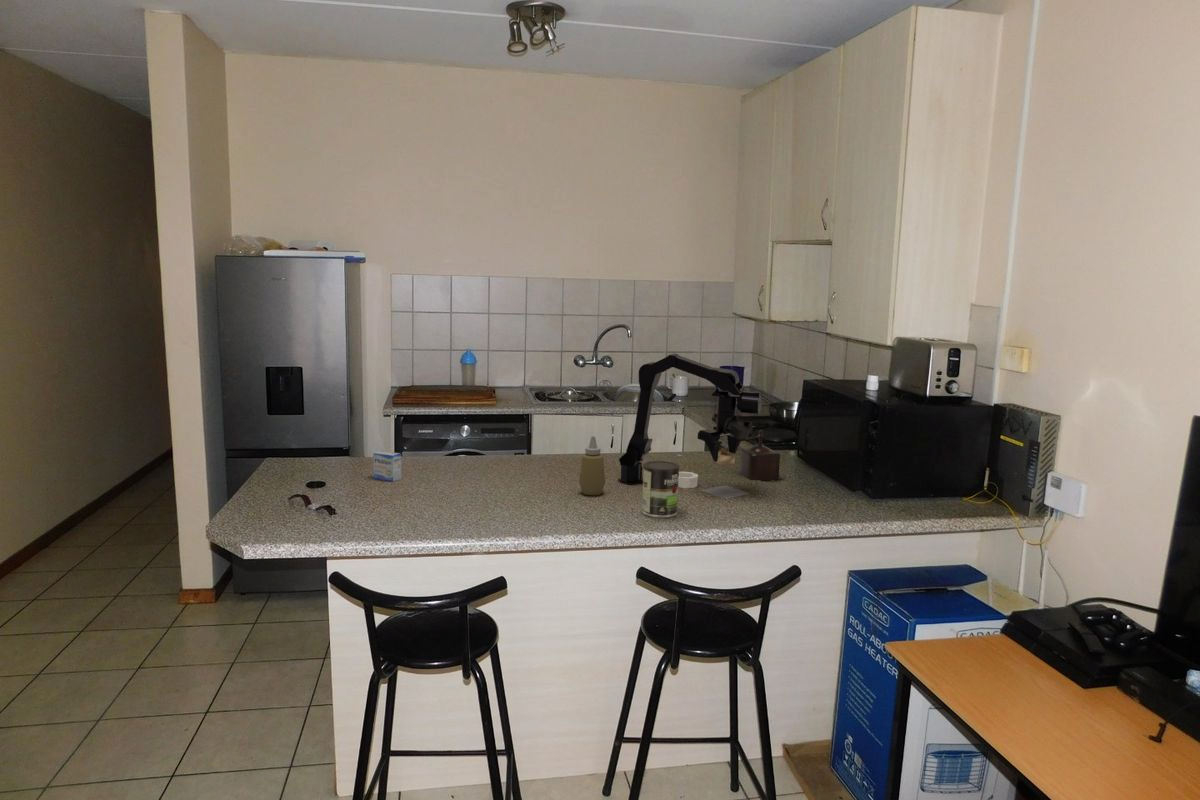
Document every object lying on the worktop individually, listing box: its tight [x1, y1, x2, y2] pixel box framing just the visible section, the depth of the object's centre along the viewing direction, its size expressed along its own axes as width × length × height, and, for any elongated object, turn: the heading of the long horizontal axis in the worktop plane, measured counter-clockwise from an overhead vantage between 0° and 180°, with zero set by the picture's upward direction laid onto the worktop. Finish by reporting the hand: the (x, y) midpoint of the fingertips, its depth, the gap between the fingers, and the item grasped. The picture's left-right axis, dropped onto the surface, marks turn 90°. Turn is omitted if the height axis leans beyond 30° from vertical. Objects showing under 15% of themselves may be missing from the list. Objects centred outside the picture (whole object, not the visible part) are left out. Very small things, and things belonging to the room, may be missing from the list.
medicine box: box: [372, 450, 402, 482], centre depth 257 cm, size 8×4×9 cm, turn 68°
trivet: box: [699, 485, 751, 500], centre depth 250 cm, size 11×11×1 cm
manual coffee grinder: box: [738, 429, 781, 482], centre depth 269 cm, size 16×11×18 cm
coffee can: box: [641, 460, 680, 519], centre depth 228 cm, size 10×10×14 cm
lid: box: [712, 447, 736, 466], centre depth 248 cm, size 7×7×5 cm
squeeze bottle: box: [578, 435, 606, 496], centre depth 245 cm, size 8×8×18 cm
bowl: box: [678, 471, 699, 489], centre depth 257 cm, size 8×8×4 cm
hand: (723, 460), depth 249 cm, fingers closed on lid, 7 cm apart
